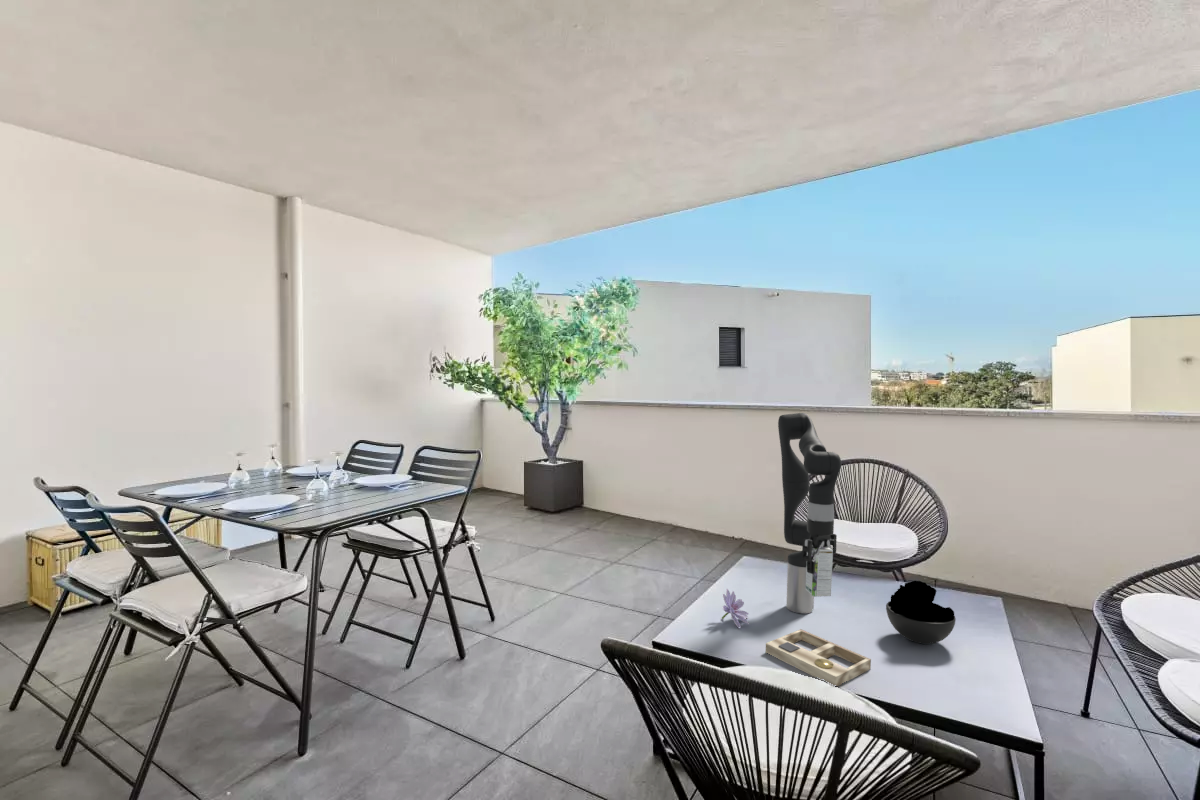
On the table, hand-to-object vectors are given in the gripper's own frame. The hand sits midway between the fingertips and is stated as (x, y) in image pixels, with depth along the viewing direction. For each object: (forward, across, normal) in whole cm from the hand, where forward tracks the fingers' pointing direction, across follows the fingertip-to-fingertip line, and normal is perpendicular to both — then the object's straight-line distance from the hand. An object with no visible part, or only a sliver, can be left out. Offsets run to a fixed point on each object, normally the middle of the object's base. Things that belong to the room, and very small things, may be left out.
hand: (818, 570), depth 171 cm
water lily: (+28, 0, -32) cm, 43 cm away
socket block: (+28, 0, 0) cm, 28 cm away
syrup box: (+7, 0, 0) cm, 7 cm away
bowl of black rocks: (+28, -40, +11) cm, 51 cm away
